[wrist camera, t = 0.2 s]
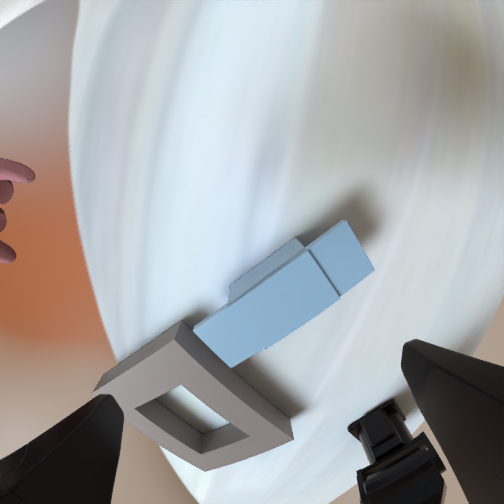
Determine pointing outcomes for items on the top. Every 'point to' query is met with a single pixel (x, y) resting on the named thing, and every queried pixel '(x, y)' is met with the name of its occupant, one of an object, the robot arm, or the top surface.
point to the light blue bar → (284, 293)
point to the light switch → (205, 389)
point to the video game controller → (3, 173)
